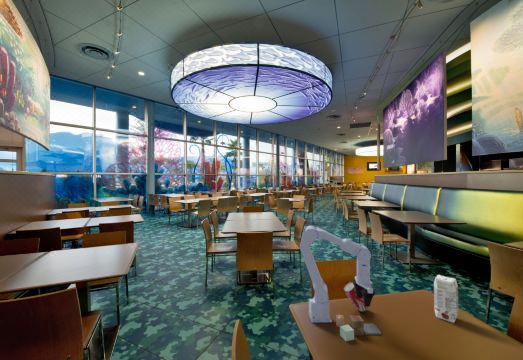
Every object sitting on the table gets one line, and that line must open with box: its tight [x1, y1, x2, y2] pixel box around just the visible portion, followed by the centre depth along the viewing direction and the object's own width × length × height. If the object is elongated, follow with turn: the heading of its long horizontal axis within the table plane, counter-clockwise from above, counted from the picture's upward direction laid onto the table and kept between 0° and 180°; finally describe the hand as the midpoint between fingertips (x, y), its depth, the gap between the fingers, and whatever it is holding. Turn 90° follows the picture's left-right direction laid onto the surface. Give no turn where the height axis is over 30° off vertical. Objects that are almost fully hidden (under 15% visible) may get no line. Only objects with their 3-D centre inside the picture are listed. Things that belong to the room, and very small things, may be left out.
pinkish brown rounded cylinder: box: [335, 313, 345, 329], centre depth 108 cm, size 4×4×4 cm
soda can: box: [343, 281, 370, 312], centre depth 121 cm, size 7×7×13 cm
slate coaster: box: [364, 323, 383, 336], centre depth 105 cm, size 7×7×1 cm
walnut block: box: [348, 314, 365, 336], centre depth 104 cm, size 4×4×6 cm
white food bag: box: [433, 274, 459, 324], centre depth 114 cm, size 8×9×19 cm
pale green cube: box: [339, 324, 355, 342], centre depth 100 cm, size 4×4×4 cm
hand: (363, 301), depth 110 cm, fingers open, 7 cm apart
